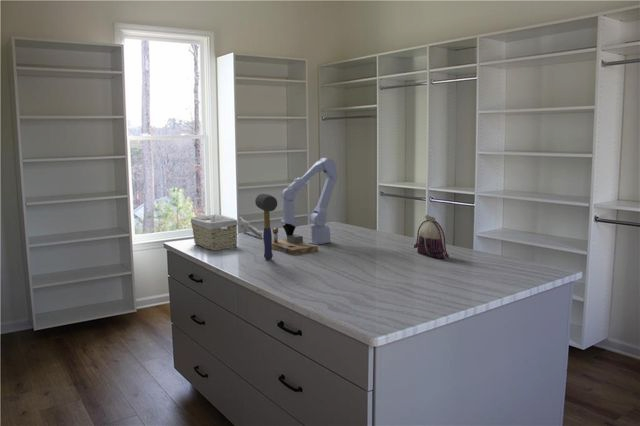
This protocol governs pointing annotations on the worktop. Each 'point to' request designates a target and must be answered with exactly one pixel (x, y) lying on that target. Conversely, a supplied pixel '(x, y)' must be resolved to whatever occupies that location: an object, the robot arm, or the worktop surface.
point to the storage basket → (215, 231)
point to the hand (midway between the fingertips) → (289, 238)
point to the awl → (275, 234)
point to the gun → (249, 227)
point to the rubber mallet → (267, 221)
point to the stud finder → (294, 238)
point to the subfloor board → (293, 247)
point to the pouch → (431, 239)
